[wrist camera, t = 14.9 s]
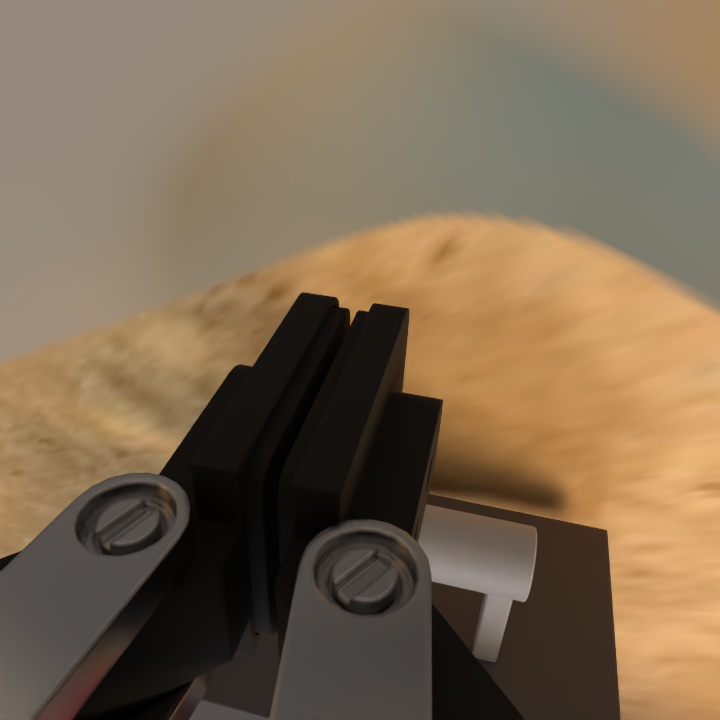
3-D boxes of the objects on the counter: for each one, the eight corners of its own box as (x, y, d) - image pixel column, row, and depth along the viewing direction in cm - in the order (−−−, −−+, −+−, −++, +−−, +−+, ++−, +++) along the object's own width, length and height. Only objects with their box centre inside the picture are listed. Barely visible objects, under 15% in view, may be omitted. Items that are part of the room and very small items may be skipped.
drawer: (205, 342, 20) (40, 549, 13) (648, 418, 18) (696, 707, 11) (245, 674, 30) (162, 879, 24) (527, 748, 28) (516, 995, 22)
